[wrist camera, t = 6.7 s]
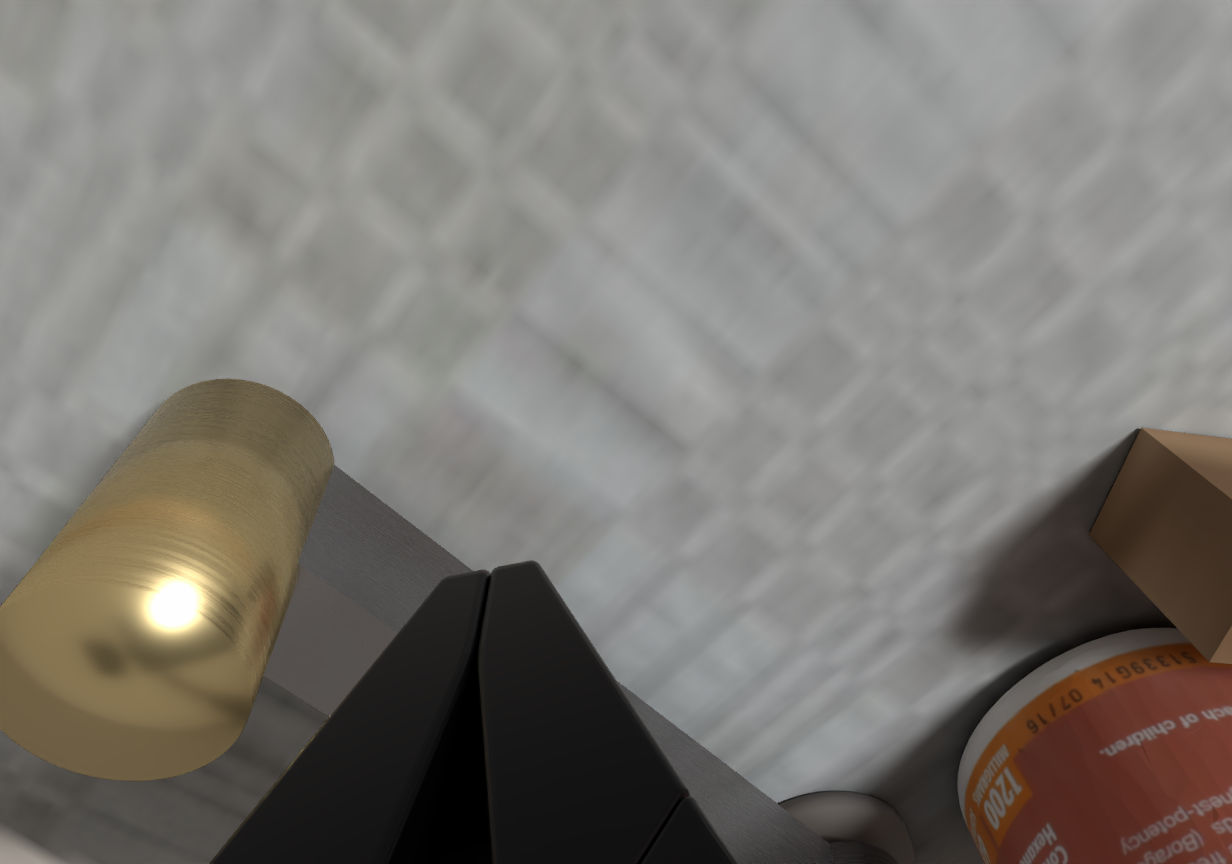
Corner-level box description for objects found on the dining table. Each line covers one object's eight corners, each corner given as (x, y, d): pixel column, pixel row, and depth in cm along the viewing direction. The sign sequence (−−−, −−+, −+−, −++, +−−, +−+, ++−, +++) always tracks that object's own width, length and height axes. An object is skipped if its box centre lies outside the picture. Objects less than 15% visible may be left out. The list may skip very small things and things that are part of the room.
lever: (929, 886, 18) (1035, 1134, 14) (814, 953, 18) (886, 1207, 15) (231, 331, 11) (85, 522, 8) (98, 471, 12) (-95, 706, 8)
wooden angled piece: (1271, 924, 21) (1379, 1068, 18) (712, 908, 19) (741, 1067, 16) (1617, 485, 15) (1843, 598, 13) (884, 396, 13) (973, 507, 11)
